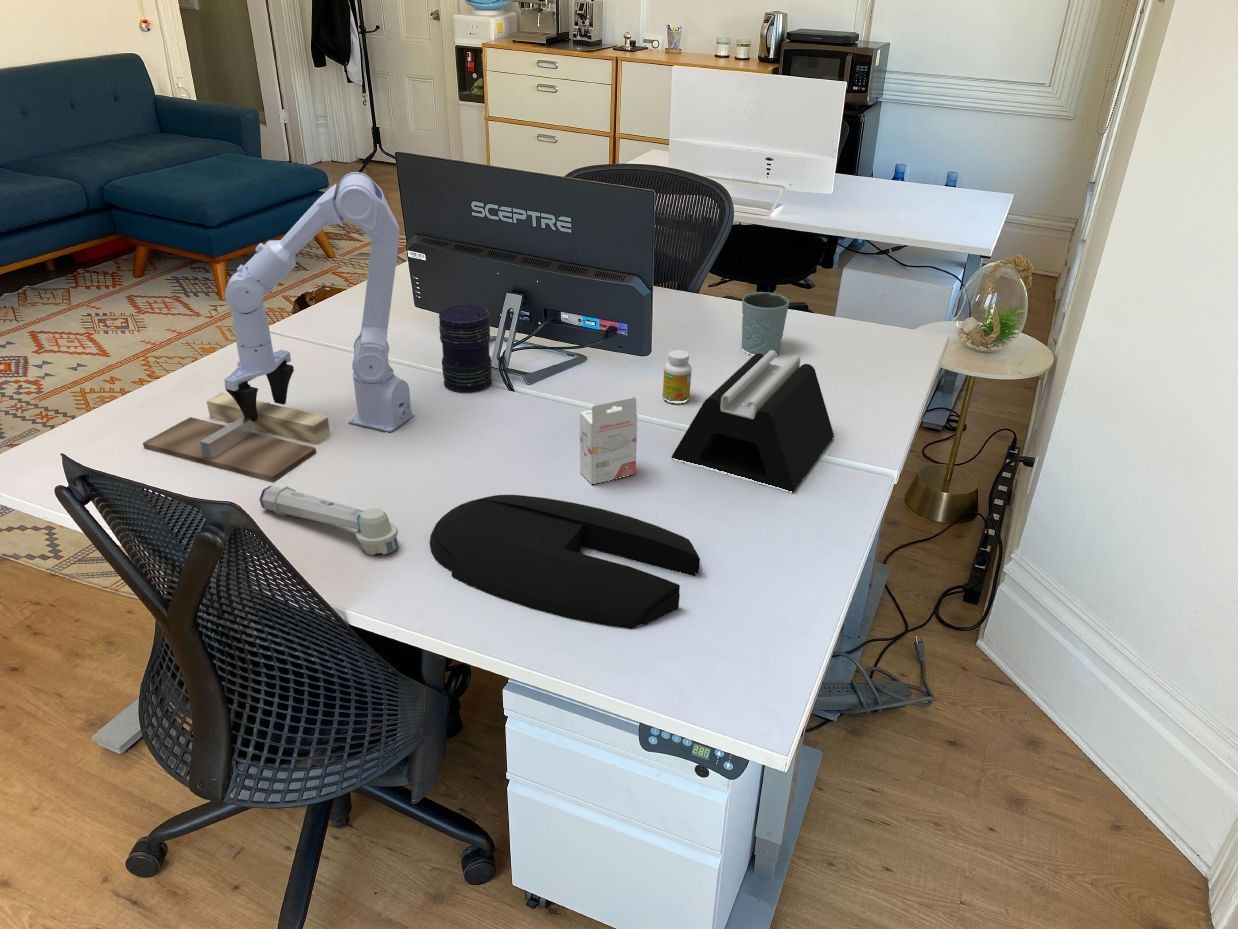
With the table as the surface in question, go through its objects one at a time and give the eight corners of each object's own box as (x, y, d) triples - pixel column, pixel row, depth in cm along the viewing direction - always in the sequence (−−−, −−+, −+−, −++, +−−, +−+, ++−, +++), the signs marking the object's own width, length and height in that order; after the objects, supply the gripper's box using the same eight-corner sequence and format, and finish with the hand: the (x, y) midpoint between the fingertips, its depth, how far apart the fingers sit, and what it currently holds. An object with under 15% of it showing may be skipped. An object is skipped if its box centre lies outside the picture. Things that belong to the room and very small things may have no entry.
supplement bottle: (658, 402, 182) (660, 356, 177) (667, 391, 186) (670, 346, 181) (684, 407, 180) (687, 361, 175) (692, 396, 184) (696, 351, 180)
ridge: (253, 434, 163) (250, 419, 162) (212, 459, 155) (209, 443, 154) (244, 432, 164) (241, 417, 163) (203, 456, 156) (199, 441, 155)
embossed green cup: (784, 344, 209) (790, 294, 204) (781, 361, 201) (787, 309, 195) (740, 340, 211) (745, 289, 205) (735, 356, 203) (739, 304, 197)
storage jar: (436, 391, 183) (430, 320, 176) (451, 371, 192) (447, 303, 184) (484, 395, 182) (481, 324, 175) (498, 375, 191) (495, 307, 183)
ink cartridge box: (622, 462, 160) (625, 385, 153) (636, 475, 156) (639, 397, 149) (578, 472, 157) (578, 394, 149) (591, 486, 153) (592, 407, 146)
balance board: (316, 452, 160) (315, 447, 160) (273, 482, 151) (272, 476, 151) (191, 421, 169) (190, 417, 169) (143, 447, 160) (142, 442, 160)
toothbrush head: (278, 478, 145) (399, 502, 134) (289, 515, 148) (408, 541, 137) (252, 493, 141) (374, 519, 130) (264, 530, 144) (384, 559, 133)
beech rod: (330, 436, 166) (327, 417, 164) (316, 446, 163) (313, 426, 161) (226, 411, 174) (222, 392, 172) (210, 420, 171) (206, 400, 169)
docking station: (481, 489, 152) (479, 463, 150) (715, 548, 139) (717, 520, 137) (393, 570, 132) (390, 541, 130) (657, 648, 119) (659, 618, 117)
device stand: (833, 440, 170) (845, 365, 163) (793, 495, 153) (804, 414, 145) (721, 412, 179) (727, 340, 172) (671, 461, 162) (676, 383, 154)
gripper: (264, 324, 167) (275, 391, 174) (204, 351, 155) (219, 423, 162) (295, 330, 165) (305, 398, 172) (238, 359, 153) (251, 431, 160)
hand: (266, 411), depth 167 cm, fingers open, 7 cm apart
